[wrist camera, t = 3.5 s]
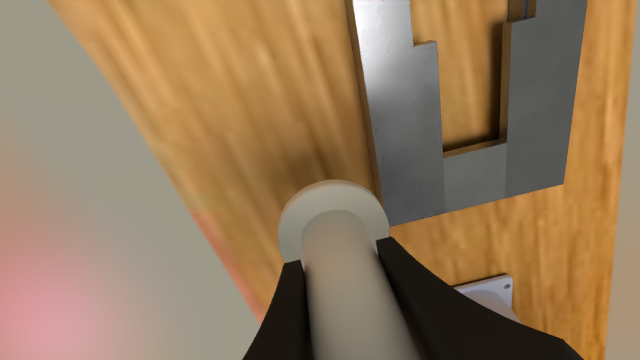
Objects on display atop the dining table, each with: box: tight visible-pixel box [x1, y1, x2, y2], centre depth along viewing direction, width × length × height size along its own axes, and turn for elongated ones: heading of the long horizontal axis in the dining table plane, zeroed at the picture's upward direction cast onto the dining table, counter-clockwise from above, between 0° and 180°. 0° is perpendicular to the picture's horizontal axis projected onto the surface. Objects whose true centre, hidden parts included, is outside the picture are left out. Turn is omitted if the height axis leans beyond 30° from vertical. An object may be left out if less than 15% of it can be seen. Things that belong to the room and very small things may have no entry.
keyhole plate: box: [345, 0, 587, 227], centre depth 19 cm, size 20×12×2 cm, turn 12°
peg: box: [278, 179, 422, 360], centre depth 12 cm, size 5×5×8 cm
